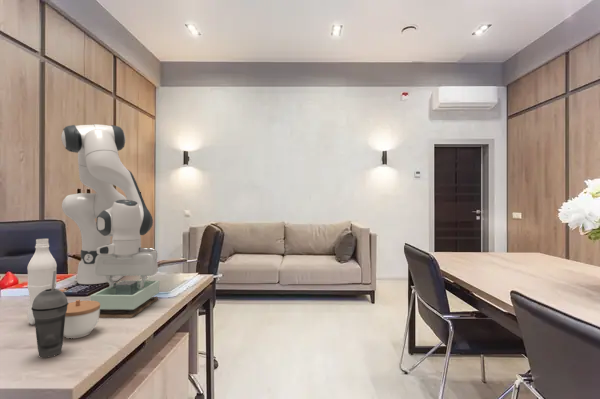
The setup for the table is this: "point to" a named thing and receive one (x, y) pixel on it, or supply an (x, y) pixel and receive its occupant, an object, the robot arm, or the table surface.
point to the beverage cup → (50, 320)
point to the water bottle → (40, 273)
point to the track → (123, 312)
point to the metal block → (126, 288)
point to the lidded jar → (81, 318)
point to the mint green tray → (125, 297)
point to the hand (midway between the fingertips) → (126, 288)
